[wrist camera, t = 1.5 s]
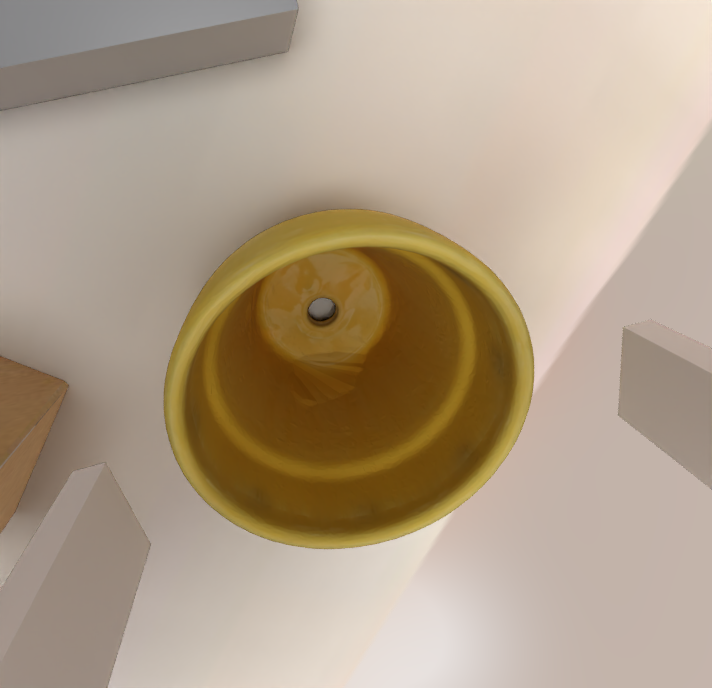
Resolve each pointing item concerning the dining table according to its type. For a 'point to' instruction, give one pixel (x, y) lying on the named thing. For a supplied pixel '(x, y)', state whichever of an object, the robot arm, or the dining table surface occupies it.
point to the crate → (128, 42)
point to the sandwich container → (23, 427)
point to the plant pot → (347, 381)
